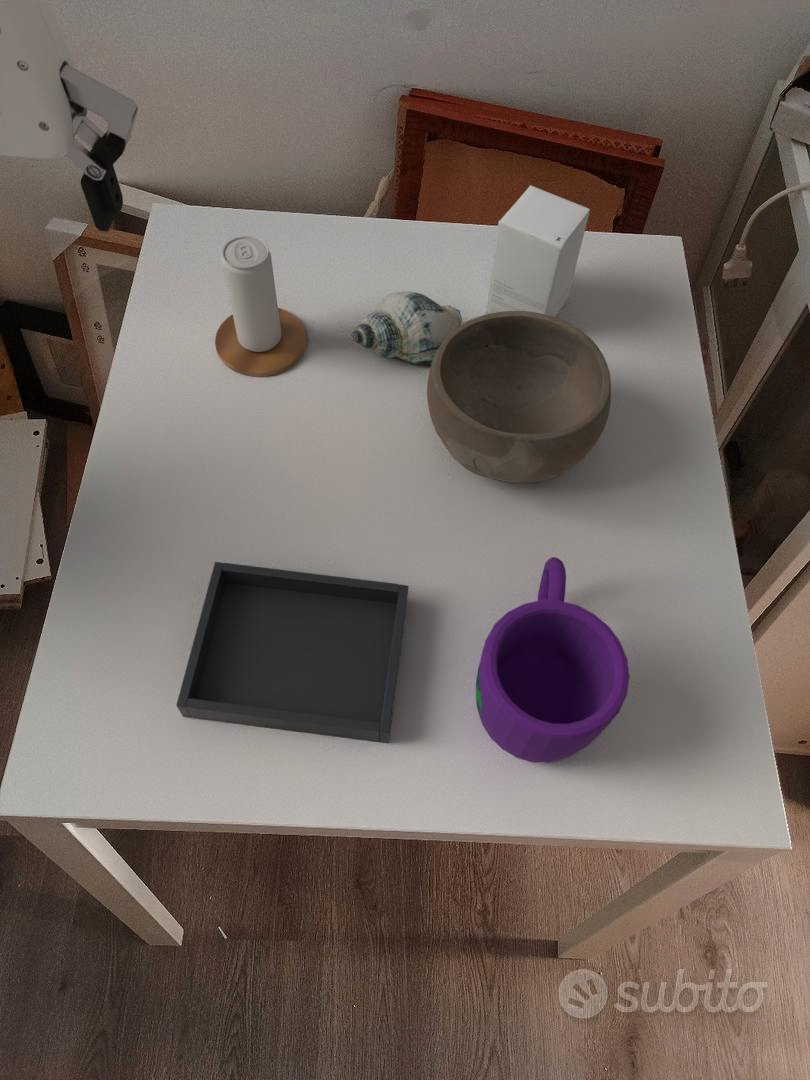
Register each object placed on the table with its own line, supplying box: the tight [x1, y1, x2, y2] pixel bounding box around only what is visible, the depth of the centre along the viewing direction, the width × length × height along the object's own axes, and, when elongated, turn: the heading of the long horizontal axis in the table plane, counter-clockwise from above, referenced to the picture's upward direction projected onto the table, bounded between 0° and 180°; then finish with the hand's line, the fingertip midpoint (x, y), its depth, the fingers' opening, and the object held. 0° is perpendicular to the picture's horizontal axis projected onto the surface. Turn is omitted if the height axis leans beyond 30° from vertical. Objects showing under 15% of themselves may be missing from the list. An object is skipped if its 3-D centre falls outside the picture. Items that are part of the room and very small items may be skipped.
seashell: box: [349, 290, 463, 366], centre depth 89 cm, size 6×8×12 cm
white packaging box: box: [485, 184, 591, 318], centre depth 90 cm, size 7×7×13 cm
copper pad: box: [214, 307, 308, 377], centre depth 91 cm, size 10×10×1 cm
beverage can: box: [221, 235, 281, 352], centre depth 86 cm, size 5×5×12 cm
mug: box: [475, 556, 630, 764], centre depth 69 cm, size 17×11×10 cm, turn 172°
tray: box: [176, 561, 409, 744], centre depth 72 cm, size 18×14×3 cm
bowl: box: [426, 311, 612, 484], centre depth 82 cm, size 17×18×10 cm
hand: (40, 210), depth 57 cm, fingers open, 9 cm apart
